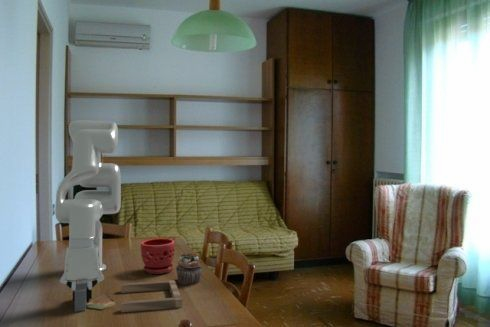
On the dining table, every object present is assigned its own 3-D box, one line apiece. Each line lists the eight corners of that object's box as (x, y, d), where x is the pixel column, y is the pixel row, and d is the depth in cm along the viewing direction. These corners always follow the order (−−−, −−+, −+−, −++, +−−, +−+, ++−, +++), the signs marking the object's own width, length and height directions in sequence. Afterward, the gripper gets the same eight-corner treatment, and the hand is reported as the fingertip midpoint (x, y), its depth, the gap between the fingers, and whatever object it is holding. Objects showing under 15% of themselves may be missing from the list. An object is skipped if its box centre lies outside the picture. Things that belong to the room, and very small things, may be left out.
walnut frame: (120, 291, 149) (120, 283, 149) (174, 287, 154) (174, 280, 154) (121, 312, 130) (121, 304, 130) (182, 307, 135) (182, 299, 135)
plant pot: (156, 265, 183) (156, 236, 183) (181, 270, 176) (181, 240, 176) (133, 272, 172) (133, 242, 171) (159, 278, 165) (159, 246, 165)
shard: (105, 297, 144) (105, 291, 144) (126, 299, 142) (126, 294, 142) (85, 308, 134) (85, 302, 134) (107, 311, 132) (107, 305, 132)
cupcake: (207, 281, 162) (207, 254, 162) (187, 287, 155) (187, 258, 154) (190, 276, 168) (190, 250, 168) (170, 281, 161) (170, 254, 161)
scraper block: (79, 298, 142) (78, 279, 142) (88, 297, 142) (88, 279, 142) (74, 311, 130) (74, 291, 130) (85, 310, 131) (85, 290, 131)
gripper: (110, 239, 141) (110, 295, 142) (55, 241, 137) (55, 299, 138) (109, 244, 134) (109, 303, 135) (51, 246, 130) (52, 308, 131)
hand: (82, 301), depth 136 cm, fingers closed on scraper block, 2 cm apart
